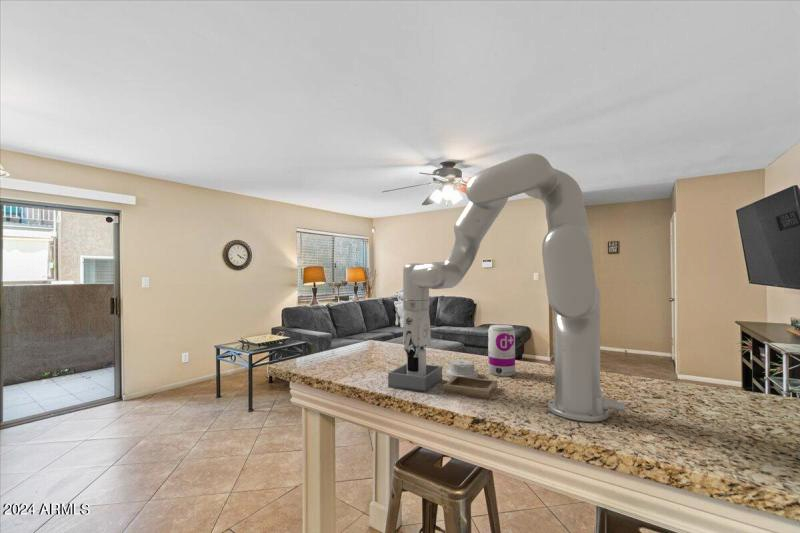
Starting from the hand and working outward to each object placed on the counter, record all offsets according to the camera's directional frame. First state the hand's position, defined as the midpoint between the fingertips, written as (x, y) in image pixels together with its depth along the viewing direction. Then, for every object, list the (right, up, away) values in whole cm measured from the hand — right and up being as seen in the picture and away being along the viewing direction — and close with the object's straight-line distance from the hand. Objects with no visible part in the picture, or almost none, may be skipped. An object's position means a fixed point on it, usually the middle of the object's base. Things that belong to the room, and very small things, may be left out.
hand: (416, 368), depth 105 cm
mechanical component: (+15, -5, +8) cm, 17 cm away
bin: (0, -4, 0) cm, 4 cm away
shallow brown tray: (+15, -4, -6) cm, 17 cm away
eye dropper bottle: (0, -3, 0) cm, 3 cm away
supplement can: (+28, -5, +11) cm, 30 cm away
